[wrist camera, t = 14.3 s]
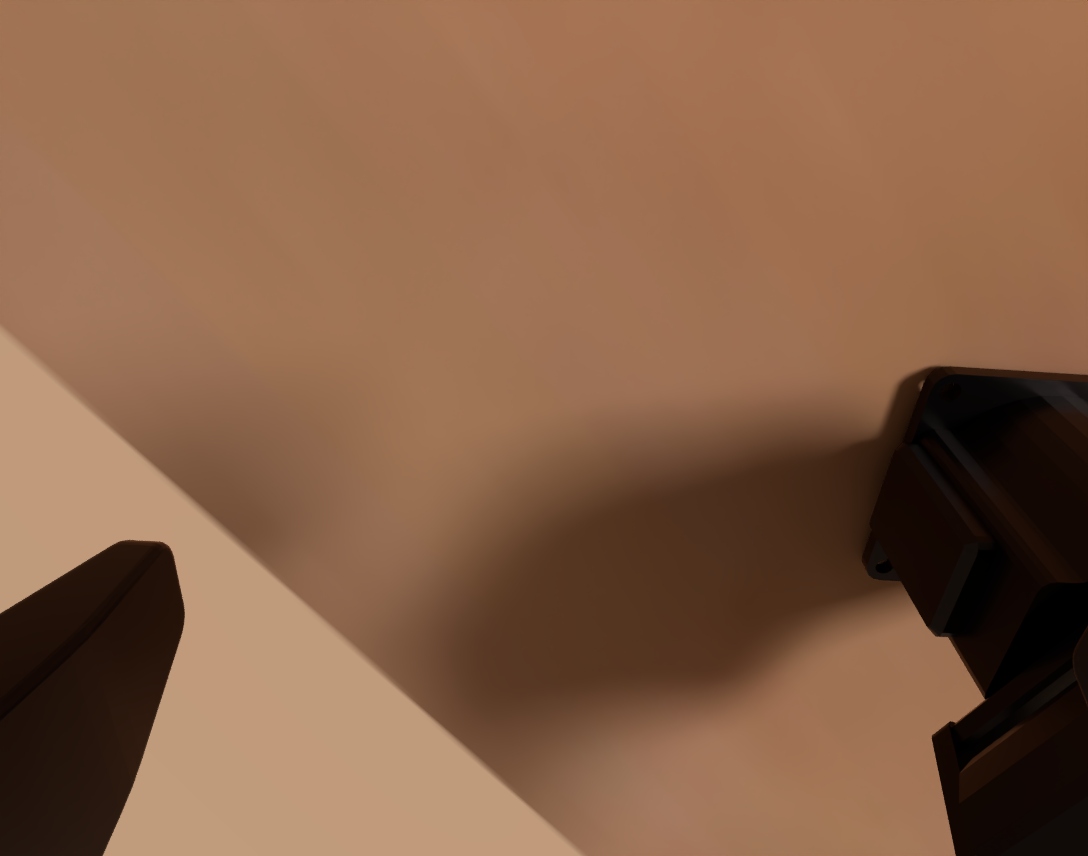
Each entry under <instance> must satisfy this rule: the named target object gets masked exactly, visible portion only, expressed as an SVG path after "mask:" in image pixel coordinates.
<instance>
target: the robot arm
mask: <svg viewBox="0 0 1088 856" xmlns="http://www.w3.org/2000/svg"><path fill="white" fill-rule="evenodd" d="M951 383H954V386H953V387H952V389H951V390H950V391H948V392H946V393H943V394H940V391H941V390H942V388H943V387H944V386H946V385H947V384H951ZM870 528H871V529H872V530H871V533H870V536H869V539H868V542H867V544H866V547H865V550H864V553H863V556H862V563H863V565H864V567H865V569H866V571H867V573H868V574H869V576H871V577H872V578H873V579H878V580H890V581H901V582H902V584H903V586H904V587H905V589H906V591H907V593H908V594H909V596H910V598H911V600H912V601H913V603H914V605H915V607H916V608H917V610H918V612H919V614H920V615H921V617H922V619H923V621H924V622H925V624H926V626H927V627H928V628H929V630H930V631H931V632H932V633H933V634H934V635H935V636H937V637H948V638H949V639H950V641H951V643H952V644H953V646H954V648H955V649H956V651H957V653H958V655H959V656H960V658H961V660H962V661H963V663H964V665H965V666H966V668H967V670H968V671H969V673H970V675H971V677H972V678H973V680H974V682H975V683H976V685H977V687H978V688H979V690H980V692H981V693H982V695H983V697H984V698H985V700H984V701H983V702H982V703H981V704H979V705H978V706H977V707H975V708H974V709H973V710H972V711H970V712H969V713H968V714H967V715H965V716H964V717H963V718H961V719H960V720H959V721H958V722H956V723H954V722H951V721H950V722H949V723H947V724H946V725H945V726H944V727H942V728H941V729H940V730H939V731H937V732H936V733H935V734H934V735H932V742H933V747H934V752H935V757H936V761H937V766H938V771H939V776H940V781H941V786H942V791H943V796H944V800H945V805H946V810H947V815H948V820H949V825H950V830H951V834H952V839H953V844H954V849H955V854H956V856H1088V375H1074V374H1058V373H1043V372H1027V371H1011V370H995V369H980V368H964V367H942V368H940V369H938V370H935V371H934V372H932V373H931V374H930V375H929V376H928V377H927V379H926V380H925V382H924V384H923V387H922V390H921V392H920V395H919V398H918V401H917V404H916V406H915V409H914V412H913V415H912V418H911V420H910V423H909V426H908V429H907V432H906V435H905V437H904V440H903V443H902V444H901V445H900V446H899V447H898V448H897V449H896V450H895V452H894V454H893V457H892V460H891V463H890V466H889V469H888V471H887V474H886V477H885V480H884V483H883V486H882V488H881V491H880V494H879V497H878V500H877V503H876V506H875V508H874V511H873V514H872V517H871V520H870ZM885 559H887V561H885V562H883V563H881V564H878V562H880V561H882V560H885ZM184 618H185V612H184V603H183V599H182V594H181V589H180V585H179V580H178V575H177V570H176V565H175V561H174V556H173V553H172V551H171V549H170V547H169V546H168V545H166V544H164V543H163V542H155V541H135V540H126V541H120V542H118V543H116V544H114V545H112V546H110V547H109V548H107V549H106V550H104V551H102V552H100V553H99V554H97V555H95V556H94V557H92V558H90V559H89V560H87V561H86V562H84V563H82V564H81V565H79V566H77V567H76V568H74V569H73V570H71V571H69V572H68V573H66V574H64V575H63V576H61V577H60V578H58V579H56V580H54V581H53V582H51V583H50V584H48V585H46V586H45V587H43V588H42V589H40V590H38V591H37V592H35V593H33V594H32V595H30V596H29V597H27V598H25V599H23V600H22V601H20V602H18V603H17V604H15V605H14V606H12V607H10V608H9V609H7V610H5V611H4V612H2V613H1V614H0V856H103V854H104V851H105V849H106V847H107V844H108V842H109V840H110V838H111V836H112V833H113V831H114V829H115V827H116V824H117V822H118V820H119V818H120V815H121V813H122V810H123V808H124V806H125V803H126V801H127V798H128V796H129V794H130V791H131V789H132V787H133V784H134V781H135V778H136V775H137V772H138V769H139V766H140V764H141V761H142V758H143V754H144V751H145V748H146V745H147V742H148V739H149V736H150V732H151V729H152V726H153V723H154V720H155V717H156V714H157V710H158V707H159V704H160V701H161V698H162V695H163V692H164V688H165V685H166V682H167V679H168V675H169V673H170V670H171V666H172V663H173V660H174V657H175V654H176V651H177V647H178V644H179V641H180V638H181V635H182V631H183V626H184Z"/></svg>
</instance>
